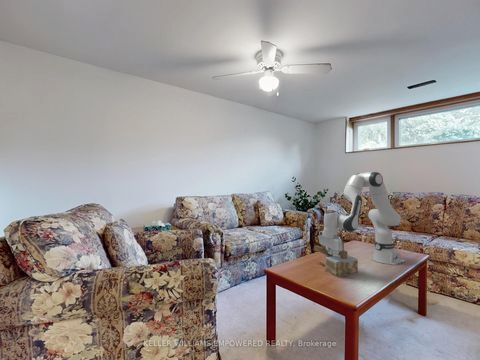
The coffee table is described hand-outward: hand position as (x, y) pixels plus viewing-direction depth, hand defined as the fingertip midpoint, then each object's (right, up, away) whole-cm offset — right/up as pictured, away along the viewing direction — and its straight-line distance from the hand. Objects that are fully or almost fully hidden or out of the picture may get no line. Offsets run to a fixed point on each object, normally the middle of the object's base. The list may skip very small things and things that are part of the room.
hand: (330, 254), depth 162 cm
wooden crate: (+6, -11, -3) cm, 13 cm away
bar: (-3, -1, +9) cm, 9 cm away
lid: (+6, -3, -3) cm, 8 cm away
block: (+14, -11, +24) cm, 30 cm away
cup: (+7, -11, +14) cm, 19 cm away
